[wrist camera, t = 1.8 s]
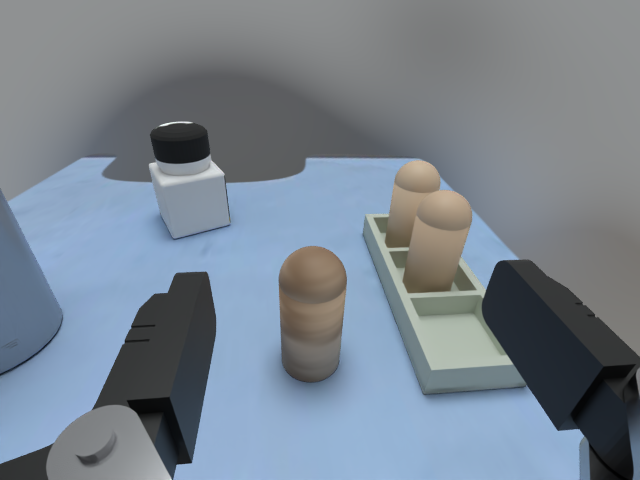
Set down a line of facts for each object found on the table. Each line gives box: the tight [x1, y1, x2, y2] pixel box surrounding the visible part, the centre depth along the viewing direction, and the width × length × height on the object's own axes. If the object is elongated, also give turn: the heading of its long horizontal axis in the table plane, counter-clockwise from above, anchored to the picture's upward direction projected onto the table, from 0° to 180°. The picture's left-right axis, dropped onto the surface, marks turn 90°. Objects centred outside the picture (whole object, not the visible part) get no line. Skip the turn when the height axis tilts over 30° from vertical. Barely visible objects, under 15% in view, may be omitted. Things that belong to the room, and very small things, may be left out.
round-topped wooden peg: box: [279, 246, 347, 382], centre depth 26 cm, size 5×5×10 cm
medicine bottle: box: [149, 122, 230, 239], centre depth 43 cm, size 7×7×12 cm
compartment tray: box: [363, 160, 527, 394], centre depth 33 cm, size 22×8×11 cm, turn 6°
